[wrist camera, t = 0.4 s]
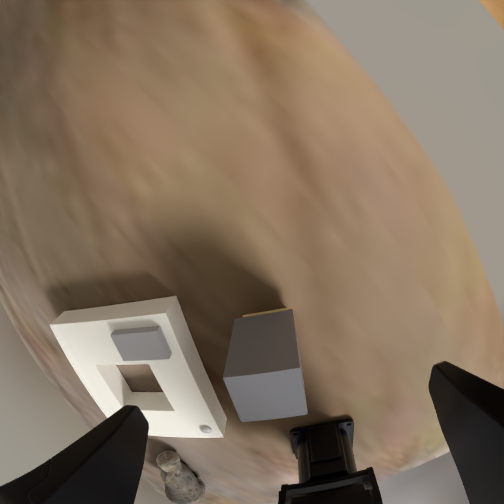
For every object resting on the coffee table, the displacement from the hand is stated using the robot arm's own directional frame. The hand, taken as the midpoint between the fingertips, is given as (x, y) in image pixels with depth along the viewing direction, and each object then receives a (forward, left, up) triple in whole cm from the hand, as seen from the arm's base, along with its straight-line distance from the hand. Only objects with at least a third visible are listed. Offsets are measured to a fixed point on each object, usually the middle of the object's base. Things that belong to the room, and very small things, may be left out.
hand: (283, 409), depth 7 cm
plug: (-6, +2, -13) cm, 14 cm away
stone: (-27, +18, -13) cm, 35 cm away
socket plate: (-9, +14, -13) cm, 20 cm away
